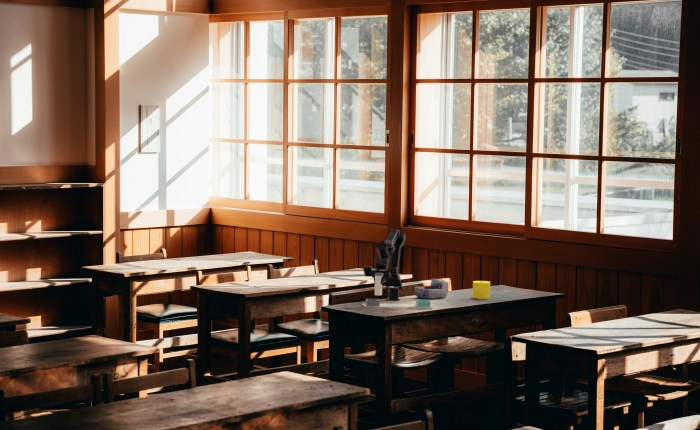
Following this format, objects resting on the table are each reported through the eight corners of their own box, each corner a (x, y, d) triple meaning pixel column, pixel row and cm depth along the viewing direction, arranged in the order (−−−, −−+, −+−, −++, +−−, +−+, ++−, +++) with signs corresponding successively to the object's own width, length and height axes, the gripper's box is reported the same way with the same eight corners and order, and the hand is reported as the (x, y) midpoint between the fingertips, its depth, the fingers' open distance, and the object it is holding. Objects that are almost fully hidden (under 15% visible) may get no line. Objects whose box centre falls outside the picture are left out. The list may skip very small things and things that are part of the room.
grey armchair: (451, 279, 617) (426, 282, 604) (451, 297, 618) (426, 301, 605) (435, 277, 627) (411, 280, 614) (435, 295, 628) (410, 298, 615)
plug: (376, 294, 575) (376, 272, 574) (381, 294, 574) (382, 272, 573) (374, 295, 572) (375, 273, 571) (380, 295, 571) (380, 273, 570)
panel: (362, 305, 581) (362, 297, 580) (429, 305, 584) (429, 298, 583) (364, 308, 569) (364, 300, 568) (432, 308, 572) (432, 301, 571)
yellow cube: (491, 297, 623) (492, 281, 622) (486, 299, 614) (487, 283, 613) (475, 296, 627) (476, 280, 626) (470, 298, 618) (470, 282, 617)
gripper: (364, 251, 578) (358, 273, 568) (397, 253, 572) (392, 275, 562) (368, 264, 586) (362, 286, 576) (401, 266, 580) (395, 288, 570)
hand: (377, 284), depth 571 cm, fingers closed on plug, 3 cm apart
